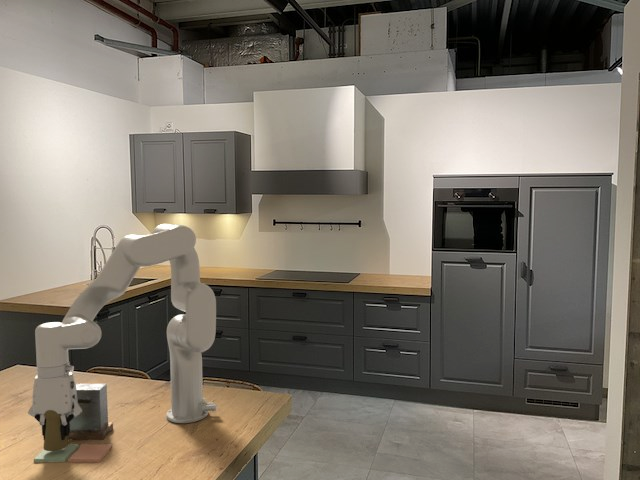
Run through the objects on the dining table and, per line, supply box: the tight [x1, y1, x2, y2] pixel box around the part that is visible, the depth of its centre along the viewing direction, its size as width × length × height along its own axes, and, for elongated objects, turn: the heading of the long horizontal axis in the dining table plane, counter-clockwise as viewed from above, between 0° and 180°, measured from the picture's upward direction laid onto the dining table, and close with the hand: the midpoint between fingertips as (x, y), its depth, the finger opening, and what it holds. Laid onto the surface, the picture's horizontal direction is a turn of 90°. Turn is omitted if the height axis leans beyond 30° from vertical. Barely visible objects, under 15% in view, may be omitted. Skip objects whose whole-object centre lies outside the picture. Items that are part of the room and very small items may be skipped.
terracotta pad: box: [68, 443, 113, 463], centre depth 143 cm, size 8×8×1 cm
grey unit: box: [68, 383, 114, 441], centre depth 154 cm, size 13×7×14 cm, turn 90°
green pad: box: [33, 444, 80, 463], centre depth 143 cm, size 8×8×1 cm
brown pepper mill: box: [43, 410, 70, 451], centre depth 142 cm, size 6×6×11 cm
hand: (56, 437), depth 143 cm, fingers closed on brown pepper mill, 3 cm apart
